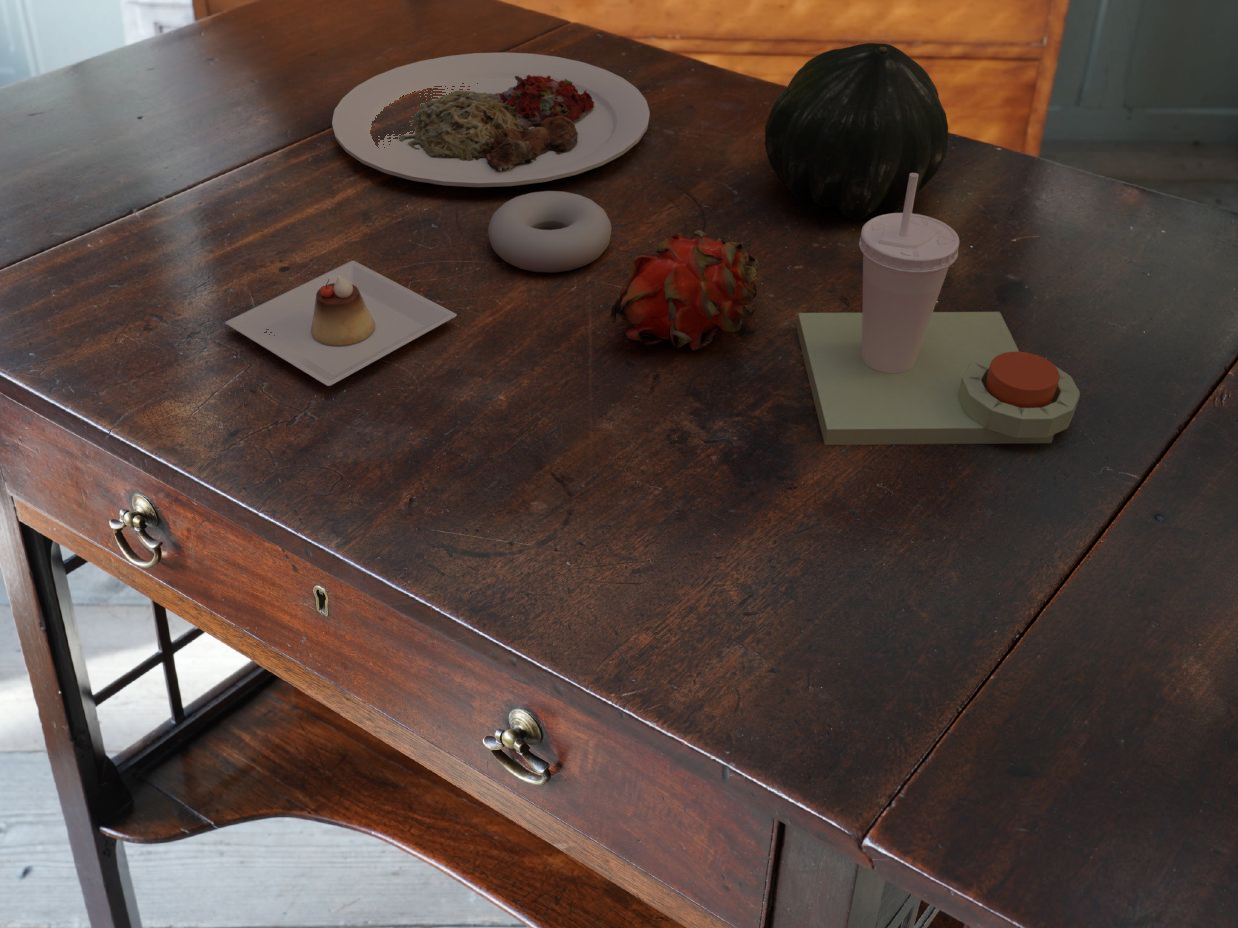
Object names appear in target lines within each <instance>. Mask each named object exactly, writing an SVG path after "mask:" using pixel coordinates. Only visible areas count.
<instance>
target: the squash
mask: <svg viewBox="0 0 1238 928" xmlns="http://www.w3.org/2000/svg"><path fill="white" fill-rule="evenodd" d="M764 147H765V151H766V156H767V159H768V163H769V164H770V166H771V168H772V170H773V171H774V173H775V175H776V177H777V178H778V180H780V181H781V182H782V183H783V184H784V185H786V186H787V188H788V189H789V191H790V192H791V193H792V194H793V195H794V196H795V197H797V198H799V199H801V200H812V199H813V202H815V203H816V204H817V205H819V206H821V207H822V208H829V207H833V206H835V205H836V207H837V209H838V211H839V212H840V213H841V214H842V215H843V216H845V217H847V218H848V219H852V220H855V221H856V220H863V219H864V218H866V217H868V216H869V215H870V214H874V215H878V216H881V215H884V214H891V213H897V212H898V211H900V210H901V209H902V208H904V204H905V198H906V192H907V187H908V181H909V175H910V173H917V174H918V175H919V176H918V181H917V187H916V192H915V195H916V194H917V193H918V192H920V191H921V190H922V189H923V188H924V187H925V186H926V185H927V184H928V183H929V182H930V181H931V180H932V179H933V177H935V175H937V173H938V171H939V169H940V168H941V166H942V165H943V163H944V160H945V159H946V155H947V152H948V147H949V123H948V118H947V113H946V111H945V109H944V107H943V105H942V102H941V100H940V97H939V93H938V89H937V87H936V85H935V83H934V81H933V80H932V78H931V77H930V75H929V73H928V72H927V71H926V70H925V69H924V68H923V67H922V66H921V65H920V64H919V63H918V62H916V61H915V60H914V59H912V57H910V56H909V55H908V54H906V53H905V52H904V51H902V50H901V49H900V48H897V47H896V46H894V45H891V44H888V43H883V42H882V43H880V42H879V43H878V42H866V43H859V44H856V45H855V44H854V45H850V46H847V47H843V48H834V49H830V50H827V51H824V52H821V53H819V54H818V55H816V56H814V57H812V58H811V59H809V60H808V61H807V62H805V63H804V64H803V66H802V67H801V68H799V69H798V70H797V72H796V73H795V74H794V75H793V77H792V78H791V80H790V82H789V83H788V85H787V86H786V88H785V89H784V90H783V91H782V92H781V93H780V95H779V96H778V98H776V100H775V102H774V103H773V104H772V107H771V109H770V111H769V114H768V116H767V119H766V122H765V126H764Z"/></svg>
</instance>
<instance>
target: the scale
mask: <svg viewBox="0 0 1238 928" xmlns="http://www.w3.org/2000/svg"><path fill="white" fill-rule="evenodd" d="M1003 317H1004V316H1003V315H1002V313H1001V311H933V313H932V316H931V319H930V322H929V324H928V327H927V330H926V333H925V336H924V339H923V341H922V344H921V347H920V350H919V353H918V356H917V358H916V361H915V364H914V366H913V367H912V368H911V369H910V370H908V371H905V372H902V373H884V372H880V371H877V370H874V369H872V368H870V367H869V366H867V365H866V364H865V363H864V361H863V360H862V312H798V313H797V317H796V325H795V328H796V333H797V337H798V341H799V345H800V350H801V354H802V357H803V361H804V366H805V370H806V374H807V378H808V383H809V386H810V391H811V395H812V398H813V399H812V400H813V402H814V407H815V411H816V416H817V419H818V424H819V428H820V432H821V436H822V440H823V444H824V445H825V446H855V445H856V446H857V445H859V446H860V445H862V446H863V445H867V446H868V445H869V446H870V445H972V444H973V445H974V444H975V445H977V444H978V445H979V444H980V445H981V444H983V445H985V444H986V445H988V444H990V445H991V444H994V445H995V444H996V445H997V444H1052V443H1053V440H1054V437H1055V435H1056V434H1058V433H1061V432H1062V431H1065V430H1067V429H1068V428H1069V427H1070V425H1071V422H1072V420H1073V417H1074V416H1075V413H1076V410H1077V406H1078V403H1079V401H1080V396H1081V392H1080V390H1079V388H1078V386H1077V385H1076V383H1075V380H1074V379H1073V377H1072V376H1071V375H1070V374H1068V373H1067V372H1065V371H1063V370H1062V369H1061V368H1059V367H1058V366H1056V365H1054V366H1055V367H1056V368H1057V370H1058V372H1059V381H1058V385H1057V388H1056V392H1055V395H1054V398H1053V400H1052V401H1051V402H1050V403H1049V404H1048V405H1046V406H1043V407H1040V408H1020V407H1016V406H1013V405H1010V404H1006V403H1003V402H1000V401H999V400H997V399H996V398H994V397H993V396H992V395H990V393H989V392H988V390H987V388H986V379H987V375H988V371H989V367H990V363H991V361H992V360H993V359H994V358H995V357H996V356H998V355H1000V354H1003V353H1007V352H1020V350H1019V348H1018V346H1017V344H1016V342H1015V339H1014V338H1013V336H1012V334H1011V332H1010V329H1009V328H1008V326H1007V323H1006V321H1005V319H1004V318H1003Z"/></svg>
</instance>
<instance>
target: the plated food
mask: <svg viewBox="0 0 1238 928" xmlns="http://www.w3.org/2000/svg"><path fill="white" fill-rule="evenodd" d="M462 83H464V84H462ZM477 83H478V84H477ZM434 86H442V87H434ZM445 86H446V87H445ZM452 86H455V87H452ZM460 86H465V87H460ZM468 86H470V87H468ZM427 88H432V89H433V88H438V89H445V90H433V91H442V92H446V93H436V94H442V95H445V96H433V97H438V98H439V99H432V100H431V101H430V102H426V103H427V104H425V103H421V104H420V109H421V110H420V111H418V112H417V113H416V114H415V115H414V116H411V117H415V119H416V120H417V119H418V120H417V121H416V120H412V123H411V125H410V126H412V125H413V124H417V127H416V128H415V131H414V133H413V134H409V133H410V132H413V131H410V132H407V133H406V134H404V135H401V134H399V135H401V136H399V135H398V136H393V135H395V134H392V135H391V136H387V135H389V134H387V135H386V136H385V138H384V140H380V139H378V140H380V142H378V144H379V145H378V147H379V148H378V147H377V146H376V145H375V142H374V141H373V139H372V136H371V134H370V130H371V127H372V125H371V124H372V121H374V120H375V117H376V118H377V116H376V115H378V114H380V112H381V111H383V109H384V107H386V106H389V104H390V103H391V104H392V103H394V101H395V100H399V98H400V97H402V96H403V95H404V96H405V95H407V94H410V93H411V94H412V92H414V91H416V92H417V91H419V90H420V91H422V90H423V89H427ZM447 88H448V89H447ZM451 89H454V90H451ZM459 89H463V90H459ZM467 89H470V90H467ZM426 91H428V90H426ZM424 92H425V91H424ZM431 92H432V91H431ZM451 92H452V93H451ZM449 93H450V94H449ZM419 94H421V93H419ZM425 94H428V93H425ZM425 94H424V95H425ZM433 94H435V93H433ZM446 94H447V95H446ZM430 95H432V94H430ZM420 97H421V96H420ZM425 97H427V96H425ZM431 98H432V97H431ZM426 100H427V99H426ZM332 115H333V116H332V121H331V126H332V127H331V128H332V131H333V134H334V137H335V141H336V142H337V143H338V144H339V146H340V147H341V148H342V149H343V150H344V151H345V153H347V154H348V155H350V156H351V157H352V158H354V159H355V160H357V161H359V162H360V163H361V164H363V165H365V166H368V167H370V168H372V169H374V170H377V171H379V172H381V173H384V174H387V175H390V176H395V177H397V178H401V179H406V180H409V181H412V182H419V183H427V184H433V185H439V186H440V185H441V186H449V187H451V186H452V187H465V188H468V187H469V188H493V187H495V188H497V187H514V186H515V187H516V186H523V185H530V184H531V185H532V184H538V183H539V184H540V183H546V182H550V181H551V182H552V181H555V180H560V179H563V178H568V177H572V176H576V175H580V174H583V173H585V172H587V171H590V170H593V169H597V168H599V167H602V166H604V165H606V164H608V163H610V162H612V161H614V160H616V159H618V158H619V157H621V156H623V155H625V154H626V153H627V152H628V151H630V150H631V149H632V148H633V147H635V146H636V145H637V144H638V143H639V142H640V141H641V139H642V138H643V136H644V135H645V133H646V132H647V130H648V126H649V123H650V116H651V112H650V107H649V105H648V101H647V99H646V98H645V97H644V95H643V94H642V93H641V91H640V90H639V89H638V87H636V86H634V85H633V84H632V83H630V82H629V81H628V80H626V79H625V78H624V77H622V76H620V75H618V74H615V73H613V72H611V71H609V70H607V69H605V68H602V67H598V66H595V65H593V64H590V63H587V62H583V61H578V60H575V59H570V58H565V57H560V56H554V55H545V54H537V53H527V52H525V53H524V52H476V53H475V52H474V53H464V54H454V55H446V56H440V57H436V58H435V57H434V58H430V59H425V60H420V61H415V62H412V63H408V64H405V65H401V66H397V67H395V68H393V69H390V70H386V71H384V72H382V73H380V74H377V75H374V76H373V77H371V78H369V79H367V80H366V81H363V82H361V83H360V84H358V85H356V86H355V87H354V88H352V89H351V90H350V91H349V92H348V93H346V94H345V95H344V96H343V97H342V98H341V99H340V101H339V102H338V104H337V106H336V107H335V108H334V110H333V114H332ZM419 129H420V130H419ZM393 132H394V131H393ZM415 133H417V134H415ZM378 137H380V136H378ZM389 137H391V139H387V138H389ZM395 137H398V139H393V138H395ZM399 138H400V139H399ZM390 140H391V142H388V141H390ZM383 141H384V142H383ZM383 144H384V145H383ZM389 144H390V145H389ZM384 147H385V148H384Z"/></svg>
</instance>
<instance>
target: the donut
mask: <svg viewBox="0 0 1238 928" xmlns="http://www.w3.org/2000/svg"><path fill="white" fill-rule="evenodd" d="M612 229H613V228H612V222H611V220H610V218H609V217H608V215H607V213H606V211H605V209H603V207H601V206H600V205H598V204H597V203H596V202H595V201H594V200H593V199H590V198H588V197H586V196H583V195H580V194H578V193H572V192H568V191H560V190H559V191H558V190H557V191H555V190H543V191H534V192H529V193H525V194H521V195H517V196H515V197H514V198H512V199H509V200H508V201H506V202H504V203H503V204H502V205H501V206H500V207H499V208H497V210H496V211H495V212H494V213H493V214H492V216H491V218H490V222H489V224H488V228H487V235H488V241H489V242H490V245H491V248H492V250H493V251H494V253H495V254H497V255H498V257H500V258H501V259H502V260H503V261H504V262H505V263H507V264H509V265H511V266H513V267H515V268H517V269H520V270H525V271H529V272H534V273H549V274H551V273H552V274H553V273H562V272H570V271H573V270H576V269H580V268H583V267H585V266H587V265H589V264H591V263H593V262H594V261H596V260H597V259H599V258H600V257H601V256H602V254H603V253H604V252H605V251H606V249H607V248H608V246H609V245H610V243H611V242H610V241H611V236H612Z"/></svg>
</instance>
